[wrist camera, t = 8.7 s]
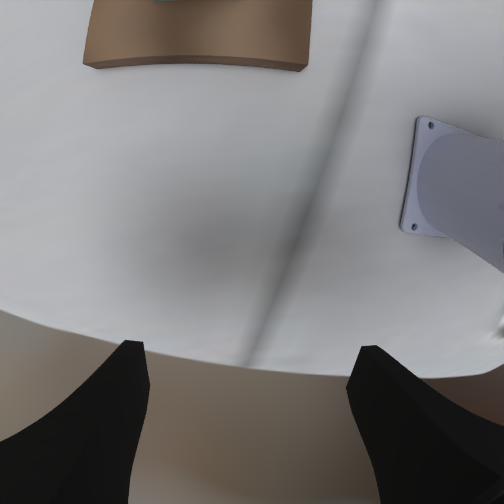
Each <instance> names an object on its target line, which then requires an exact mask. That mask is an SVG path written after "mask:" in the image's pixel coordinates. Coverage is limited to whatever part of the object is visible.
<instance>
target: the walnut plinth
mask: <svg viewBox="0 0 504 504" xmlns="http://www.w3.org/2000/svg"><path fill="white" fill-rule="evenodd" d="M311 16H312V0H170V1H157V2H154V1H153V0H94V3H93V8H92V12H91V17H90V22H89V27H88V32H87V38H86V44H85V50H84V57H83V64H85V65H87V66H90V67H93V68H95V69H101V68H109V67H119V66H130V65H144V64H165V63H211V64H232V65H247V66H258V67H268V68H276V69H284V70H292V71H298V72H300V71H301V70H303V69H304V68H305V67H306V66H307V65H308V59H309V46H310V32H311Z"/></svg>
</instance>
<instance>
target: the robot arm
mask: <svg viewBox="0 0 504 504" xmlns="http://www.w3.org/2000/svg"><path fill="white" fill-rule="evenodd" d="M429 122H430V124H431V128H429V127H428V124H429ZM414 223H415V226H414V228H412V229H411V226H412V225H413V224H414ZM400 227H401V230H402V231H404V232H405V233H411V234H420V235H429V236H438V237H446V238H452V239H453V240H455V241H456V242H458V243H459V244H461V245H463V246H464V247H466V248H467V249H469V250H470V251H472V252H473V253H475V254H476V255H478V256H479V257H481V258H482V259H484V260H485V261H487V262H488V263H489V264H491V265H492V266H494V267H495V268H497V269H498V270H499V271H501V272H502V273H504V141H501V140H495V139H489V138H483V137H480V136H477V135H475V134H472V133H470V132H468V131H465V130H462V129H460V128H457V127H455V126H452V125H449V124H446V123H444V122H441V121H438V120H435V119H432V118H429V117H426V116H420V117H419V118H418V119H417V124H416V133H415V141H414V149H413V157H412V163H411V170H410V176H409V182H408V188H407V194H406V199H405V204H404V209H403V214H402V219H401V224H400ZM149 390H150V382H149V376H148V371H147V364H146V358H145V351H144V344H143V342H140V341H130V340H125V341H124V342H122V343H121V344H120V346H119V347H118V348H117V349H116V350H115V351H114V352H113V353H112V354H111V355H110V356H109V357H108V358H107V359H106V361H105V362H104V363H103V364H102V365H101V366H100V367H99V368H98V369H97V370H96V371H95V372H94V373H93V374H92V375H91V376H90V377H89V378H88V379H87V380H86V381H85V382H84V383H83V384H82V385H81V386H80V387H78V388H77V389H76V390H75V391H74V392H73V393H72V394H71V395H70V396H69V397H68V398H66V399H65V400H64V401H63V402H62V403H60V404H59V405H58V406H57V407H55V408H54V409H53V410H52V411H50V412H49V413H48V414H46V415H45V416H44V417H42V418H41V419H39V420H38V421H36V422H34V423H33V424H31V425H30V426H28V427H26V428H25V429H23V430H22V431H20V432H18V433H17V434H15V435H13V436H11V437H9V438H7V439H5V440H3V441H1V442H0V504H128V496H129V486H130V476H131V471H132V466H133V461H134V458H135V454H136V450H137V445H138V442H139V438H140V434H141V431H142V427H143V423H144V419H145V415H146V411H147V404H148V397H149ZM346 390H347V394H348V399H349V403H350V407H351V411H352V413H353V416H354V419H355V421H356V424H357V426H358V429H359V432H360V434H361V437H362V439H363V442H364V444H365V446H366V449H367V452H368V455H369V457H370V460H371V463H372V466H373V469H374V472H375V477H376V481H377V486H378V490H379V496H380V501H381V504H504V426H502V425H499V424H496V423H493V422H491V421H489V420H486V419H484V418H482V417H479V416H477V415H475V414H473V413H471V412H469V411H468V410H466V409H464V408H462V407H460V406H459V405H457V404H455V403H453V402H452V401H450V400H449V399H447V398H446V397H444V396H443V395H441V394H440V393H438V392H437V391H435V390H434V389H433V388H431V387H430V386H429V385H427V384H426V383H425V382H423V381H422V380H421V379H419V378H418V377H417V376H415V375H414V374H413V373H412V372H410V371H409V370H408V369H407V368H405V367H404V366H403V365H402V364H400V363H399V362H398V361H397V360H395V359H394V358H393V357H392V356H390V355H389V354H388V353H387V352H385V351H384V350H383V349H381V348H380V347H378V346H377V345H372V346H361V349H360V352H359V354H358V357H357V360H356V363H355V365H354V368H353V371H352V373H351V376H350V378H349V381H348V384H347V386H346Z"/></svg>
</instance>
